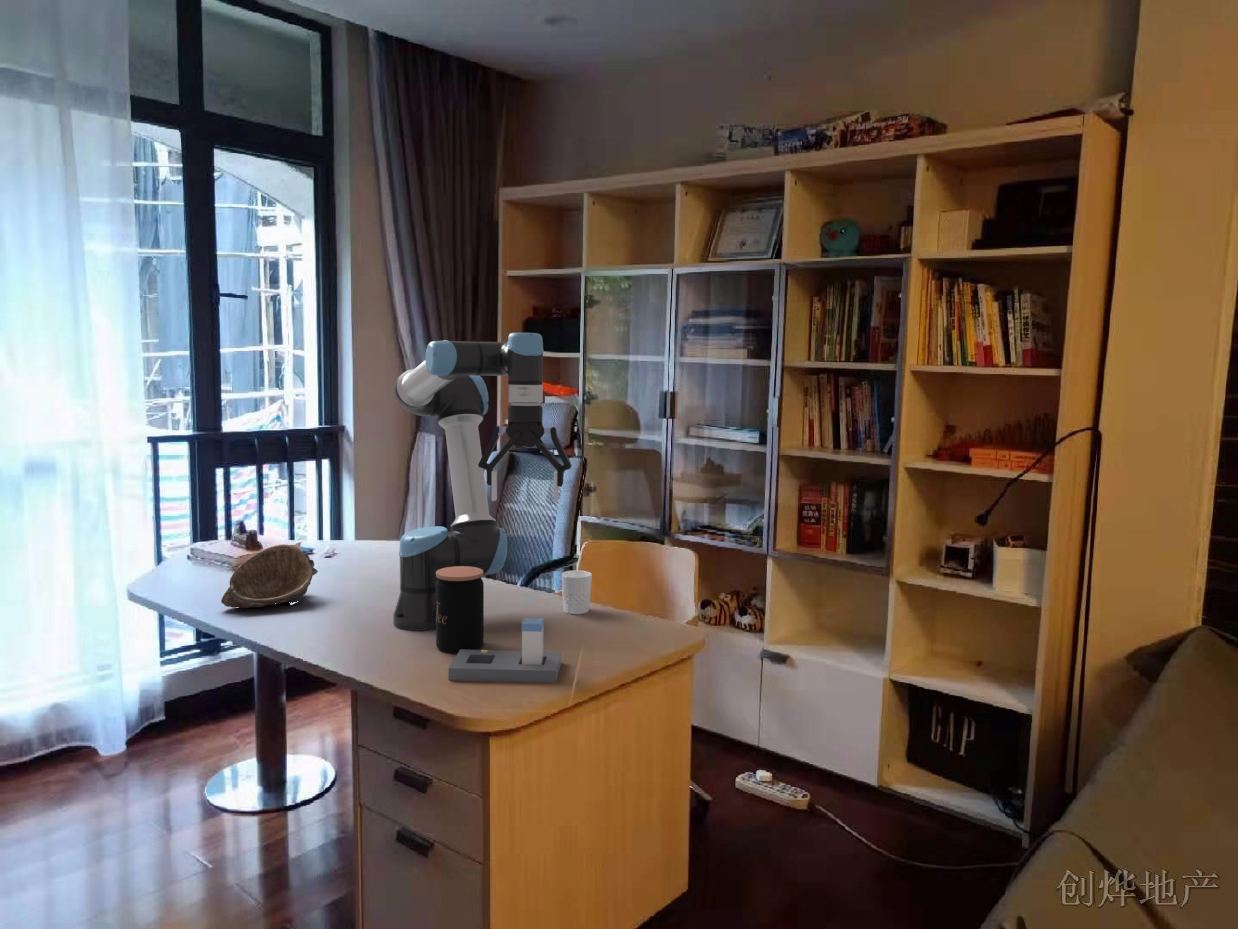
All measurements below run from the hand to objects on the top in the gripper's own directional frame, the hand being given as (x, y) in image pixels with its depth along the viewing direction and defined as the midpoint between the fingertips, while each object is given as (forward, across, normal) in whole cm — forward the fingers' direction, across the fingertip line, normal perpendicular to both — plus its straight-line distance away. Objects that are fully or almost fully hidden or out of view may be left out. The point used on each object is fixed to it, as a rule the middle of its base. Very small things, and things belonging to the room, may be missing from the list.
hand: (525, 500), depth 201 cm
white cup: (+35, +9, +35) cm, 50 cm away
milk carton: (+34, +4, -14) cm, 37 cm away
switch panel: (+35, -2, -14) cm, 37 cm away
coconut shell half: (+35, -70, +34) cm, 85 cm away
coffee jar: (+35, -15, +2) cm, 38 cm away
